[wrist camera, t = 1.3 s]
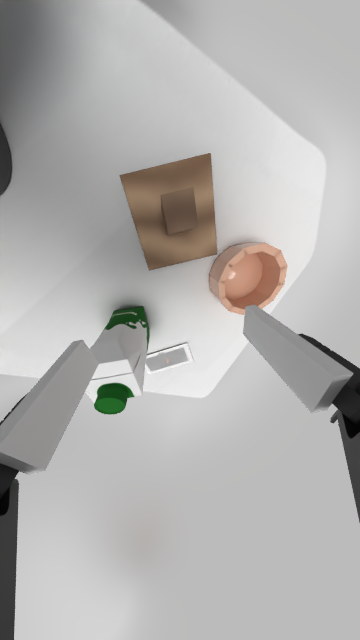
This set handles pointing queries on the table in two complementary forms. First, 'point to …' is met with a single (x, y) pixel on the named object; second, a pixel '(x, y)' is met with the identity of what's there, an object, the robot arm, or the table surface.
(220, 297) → the bowl
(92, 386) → the milk carton
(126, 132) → the table surface
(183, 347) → the touchpad
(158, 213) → the cover board
